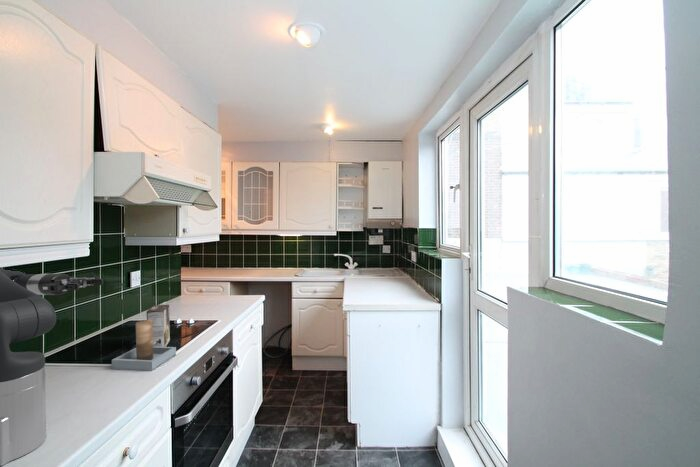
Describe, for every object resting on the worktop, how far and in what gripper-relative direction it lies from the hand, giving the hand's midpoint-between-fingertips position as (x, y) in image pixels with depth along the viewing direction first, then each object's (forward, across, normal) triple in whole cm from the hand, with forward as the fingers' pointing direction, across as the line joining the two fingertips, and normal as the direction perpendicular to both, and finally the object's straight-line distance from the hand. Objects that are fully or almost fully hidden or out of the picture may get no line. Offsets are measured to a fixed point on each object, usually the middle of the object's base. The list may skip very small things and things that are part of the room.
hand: (91, 284), depth 100 cm
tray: (+15, +6, +30) cm, 34 cm away
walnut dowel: (+14, +6, +29) cm, 33 cm away
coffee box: (+8, +20, +30) cm, 37 cm away
